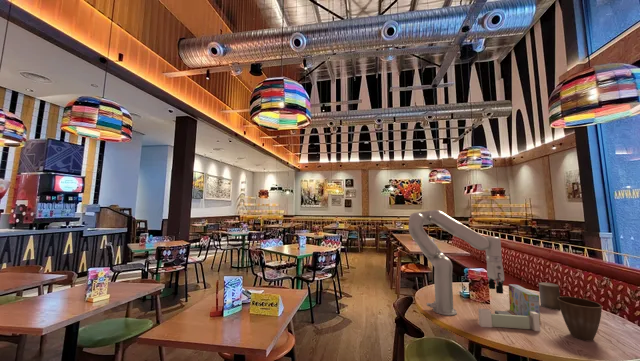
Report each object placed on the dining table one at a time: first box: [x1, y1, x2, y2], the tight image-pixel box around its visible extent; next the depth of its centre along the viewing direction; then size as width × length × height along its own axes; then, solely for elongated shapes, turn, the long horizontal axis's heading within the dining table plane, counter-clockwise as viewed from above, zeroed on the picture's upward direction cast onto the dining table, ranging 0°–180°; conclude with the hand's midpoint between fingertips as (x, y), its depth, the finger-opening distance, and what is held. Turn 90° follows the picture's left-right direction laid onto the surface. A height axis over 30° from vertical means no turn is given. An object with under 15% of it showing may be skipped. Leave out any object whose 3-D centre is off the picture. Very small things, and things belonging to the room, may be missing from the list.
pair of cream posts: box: [477, 308, 541, 332], centre depth 131 cm, size 27×3×8 cm, turn 82°
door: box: [491, 313, 533, 330], centre depth 130 cm, size 18×2×6 cm, turn 82°
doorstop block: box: [494, 310, 513, 315], centre depth 136 cm, size 6×7×5 cm
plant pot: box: [558, 296, 603, 342], centre depth 122 cm, size 15×15×16 cm
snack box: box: [508, 283, 541, 326], centre depth 145 cm, size 21×6×15 cm, turn 168°
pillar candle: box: [538, 281, 561, 311], centre depth 161 cm, size 10×10×15 cm
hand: (495, 290), depth 146 cm, fingers open, 7 cm apart
